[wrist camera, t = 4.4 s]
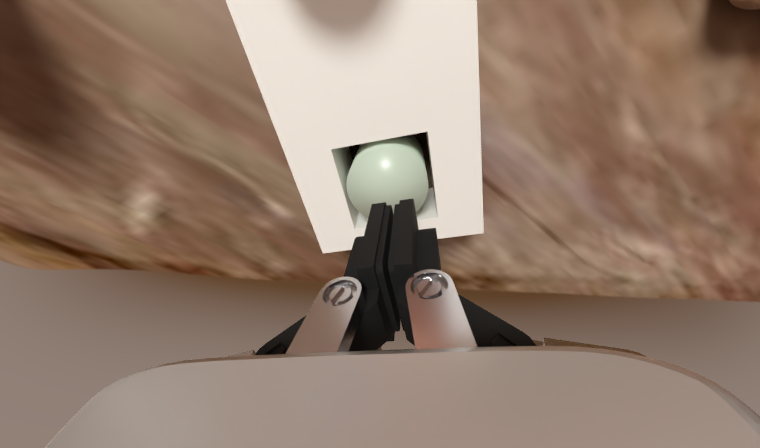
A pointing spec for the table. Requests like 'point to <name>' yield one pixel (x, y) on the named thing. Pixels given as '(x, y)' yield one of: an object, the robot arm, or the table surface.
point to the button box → (370, 99)
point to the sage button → (388, 174)
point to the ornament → (746, 4)
